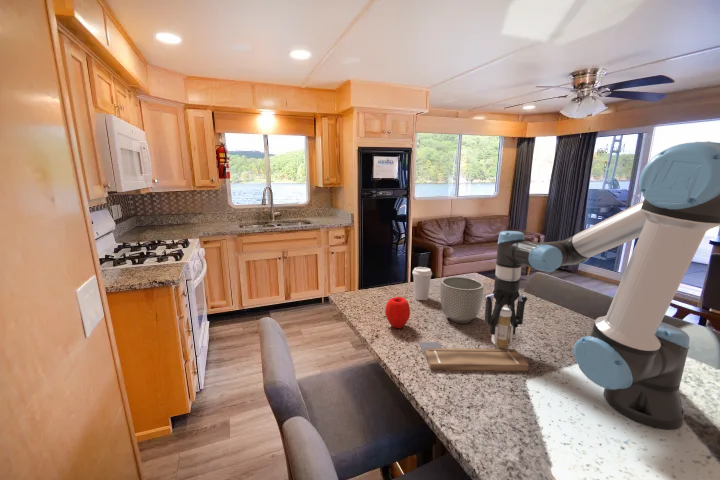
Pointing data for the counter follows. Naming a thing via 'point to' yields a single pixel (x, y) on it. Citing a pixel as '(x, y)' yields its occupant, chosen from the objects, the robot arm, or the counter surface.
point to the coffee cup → (421, 282)
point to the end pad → (429, 345)
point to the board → (475, 359)
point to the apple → (397, 311)
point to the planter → (461, 298)
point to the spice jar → (503, 328)
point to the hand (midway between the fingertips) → (501, 342)
